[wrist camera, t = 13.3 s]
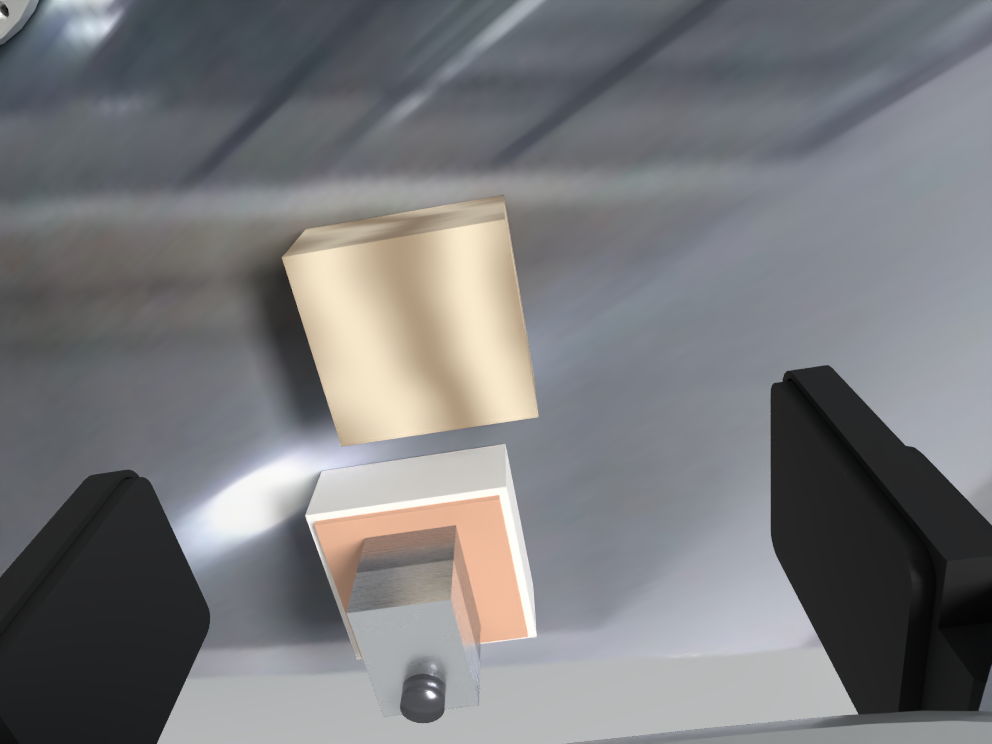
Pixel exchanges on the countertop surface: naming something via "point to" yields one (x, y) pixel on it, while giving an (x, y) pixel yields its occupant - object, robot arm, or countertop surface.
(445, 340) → the stand
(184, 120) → the countertop surface
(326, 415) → the countertop surface
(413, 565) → the housing
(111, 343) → the countertop surface
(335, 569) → the stand
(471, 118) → the countertop surface
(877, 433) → the robot arm
